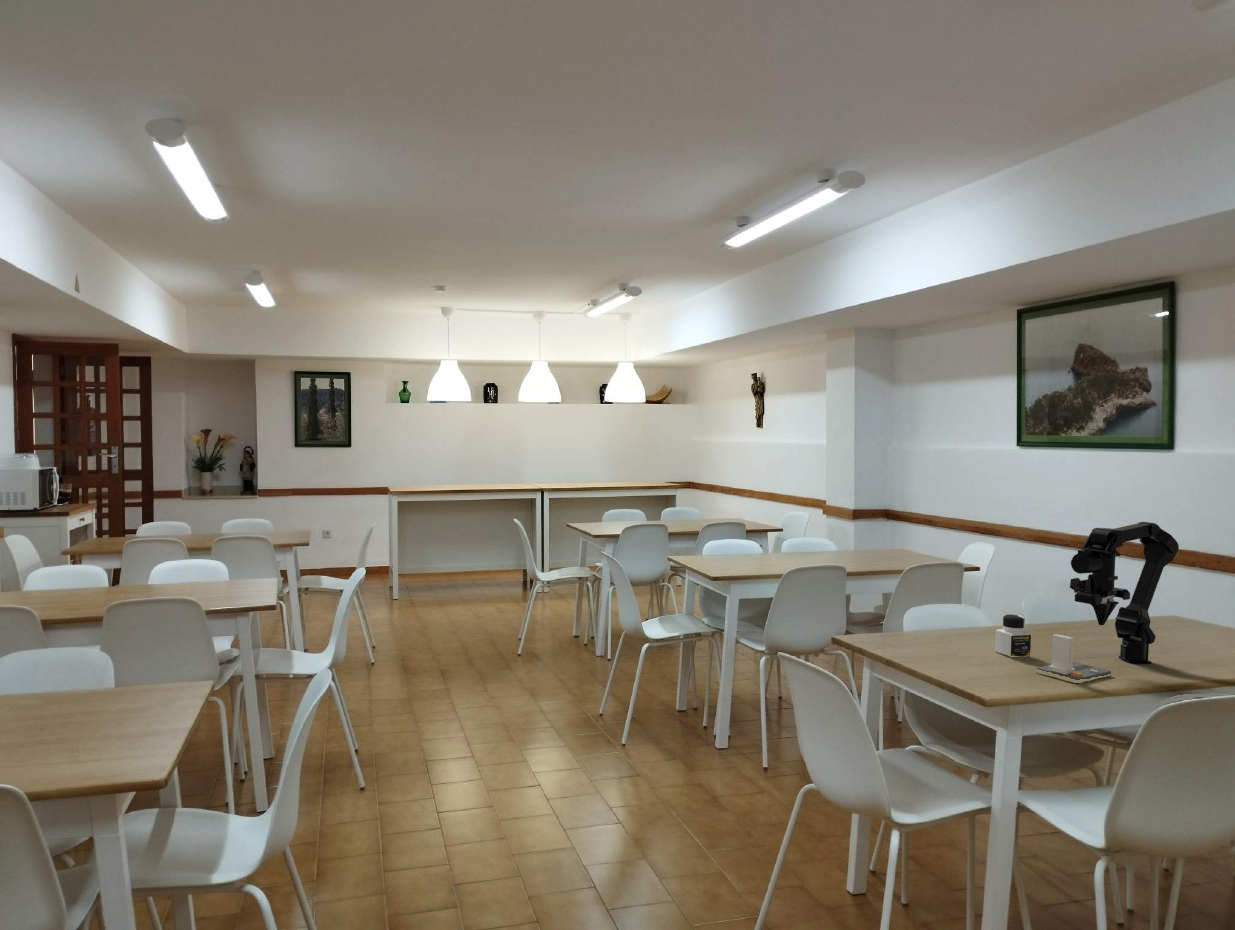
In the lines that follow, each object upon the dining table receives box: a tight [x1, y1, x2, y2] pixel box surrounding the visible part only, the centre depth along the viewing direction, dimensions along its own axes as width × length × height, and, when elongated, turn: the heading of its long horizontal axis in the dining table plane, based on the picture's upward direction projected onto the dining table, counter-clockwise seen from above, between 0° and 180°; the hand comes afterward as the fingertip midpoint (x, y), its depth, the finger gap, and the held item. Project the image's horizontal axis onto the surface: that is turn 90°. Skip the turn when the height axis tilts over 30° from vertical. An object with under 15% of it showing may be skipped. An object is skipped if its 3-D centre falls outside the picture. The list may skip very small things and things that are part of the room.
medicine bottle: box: [994, 613, 1032, 657], centre depth 271 cm, size 7×7×12 cm
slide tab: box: [1048, 633, 1075, 675], centre depth 246 cm, size 4×5×10 cm
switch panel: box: [1035, 660, 1112, 680], centre depth 250 cm, size 16×12×2 cm
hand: (1101, 625), depth 259 cm, fingers closed
